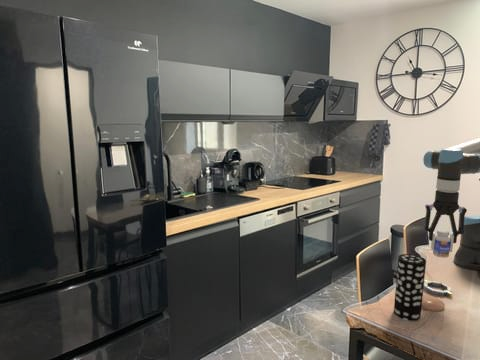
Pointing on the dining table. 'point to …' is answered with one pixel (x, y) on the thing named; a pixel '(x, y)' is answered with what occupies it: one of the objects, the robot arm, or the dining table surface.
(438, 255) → the pill bottle
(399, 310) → the spotted tube
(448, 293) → the collar
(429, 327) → the dining table surface
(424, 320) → the dining table surface
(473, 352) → the dining table surface
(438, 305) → the peach disc
